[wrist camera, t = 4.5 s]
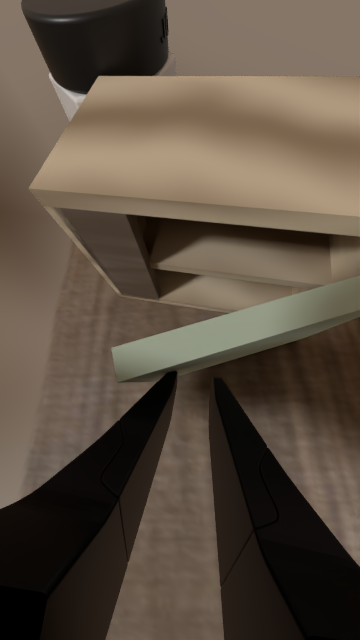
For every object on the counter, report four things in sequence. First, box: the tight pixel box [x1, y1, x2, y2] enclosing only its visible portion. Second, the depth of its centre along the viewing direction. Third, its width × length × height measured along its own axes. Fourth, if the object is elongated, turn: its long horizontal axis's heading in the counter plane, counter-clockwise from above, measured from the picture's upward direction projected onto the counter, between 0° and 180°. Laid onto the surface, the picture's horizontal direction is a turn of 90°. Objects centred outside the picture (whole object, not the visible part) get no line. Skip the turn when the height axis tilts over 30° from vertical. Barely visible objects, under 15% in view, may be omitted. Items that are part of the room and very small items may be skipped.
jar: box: [21, 0, 176, 121], centre depth 16 cm, size 9×8×12 cm
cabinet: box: [29, 76, 360, 313], centre depth 13 cm, size 9×16×10 cm, turn 79°
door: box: [112, 275, 360, 382], centre depth 11 cm, size 1×12×9 cm, turn 106°
